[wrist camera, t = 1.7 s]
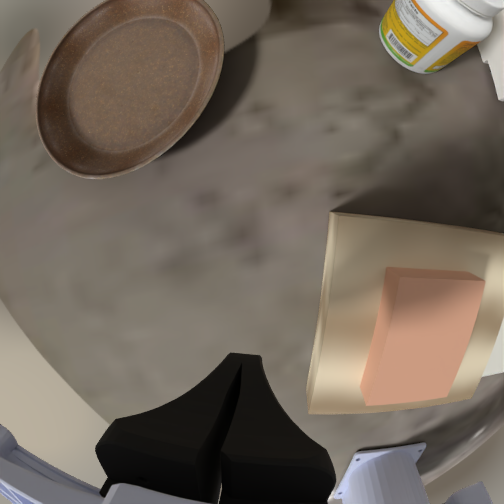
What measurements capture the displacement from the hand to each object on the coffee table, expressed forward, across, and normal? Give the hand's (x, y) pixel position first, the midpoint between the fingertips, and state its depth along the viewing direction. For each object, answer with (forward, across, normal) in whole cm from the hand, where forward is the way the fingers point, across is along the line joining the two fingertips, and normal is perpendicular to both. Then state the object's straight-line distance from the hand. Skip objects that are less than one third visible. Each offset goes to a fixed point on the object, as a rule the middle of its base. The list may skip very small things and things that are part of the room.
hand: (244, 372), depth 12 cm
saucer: (+8, +10, -15) cm, 20 cm away
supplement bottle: (+8, -10, -19) cm, 23 cm away
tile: (+3, -10, 0) cm, 11 cm away
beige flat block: (+8, -11, 0) cm, 13 cm away
